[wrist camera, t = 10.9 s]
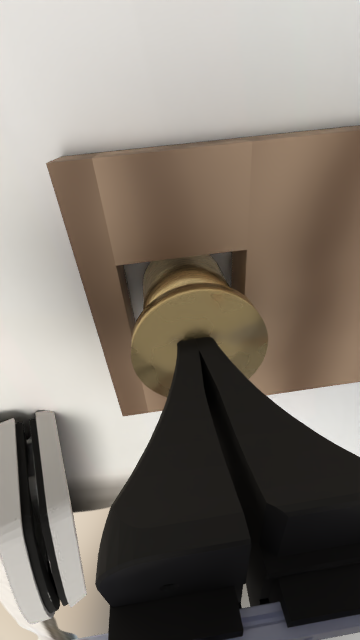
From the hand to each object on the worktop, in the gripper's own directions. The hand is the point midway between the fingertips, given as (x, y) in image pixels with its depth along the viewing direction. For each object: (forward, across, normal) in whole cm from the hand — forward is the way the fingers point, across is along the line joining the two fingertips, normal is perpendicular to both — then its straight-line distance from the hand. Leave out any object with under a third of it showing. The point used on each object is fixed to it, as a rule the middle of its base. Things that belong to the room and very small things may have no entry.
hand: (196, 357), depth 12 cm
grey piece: (+6, +12, +16) cm, 21 cm away
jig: (+6, -4, 0) cm, 7 cm away
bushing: (+6, 0, 0) cm, 6 cm away
